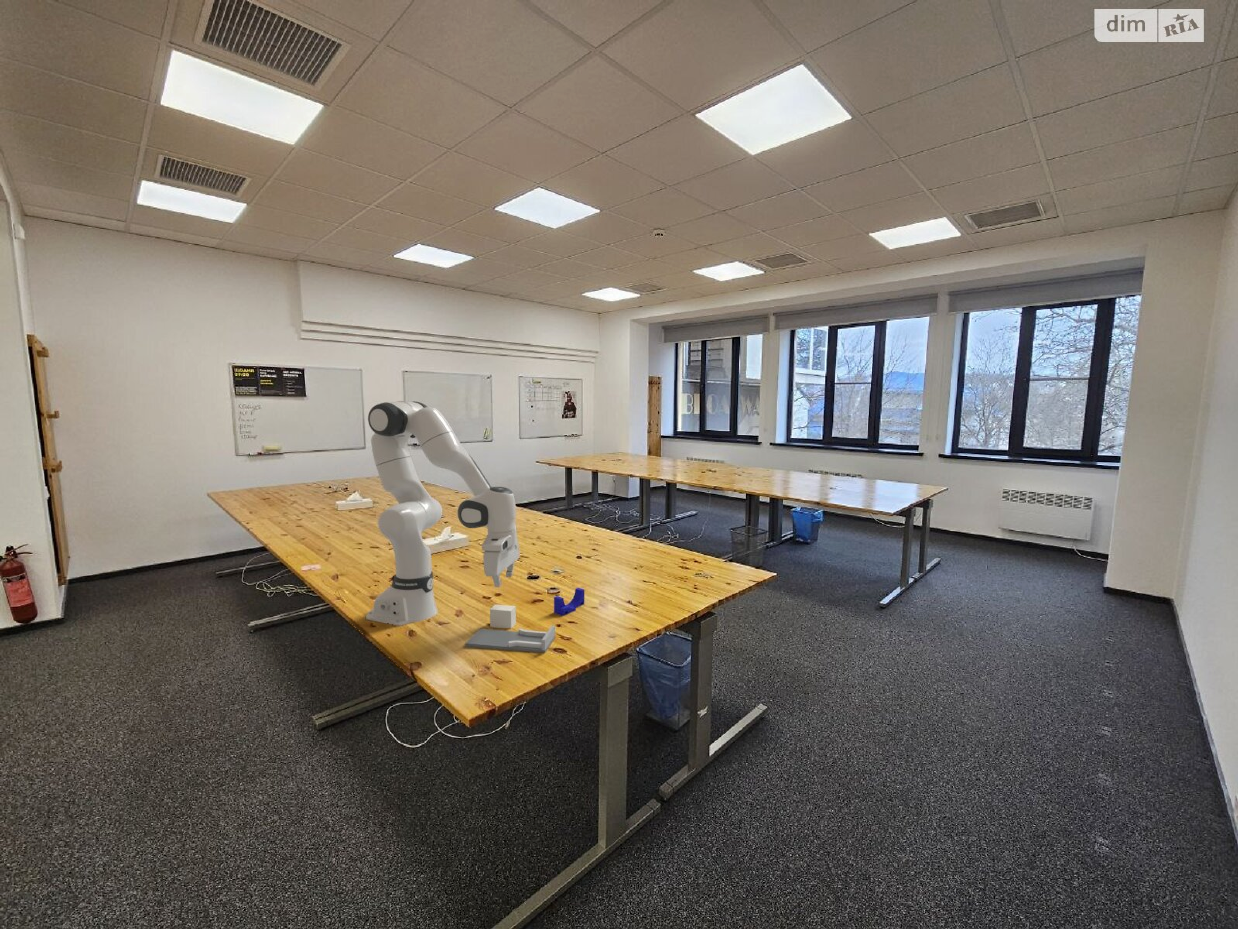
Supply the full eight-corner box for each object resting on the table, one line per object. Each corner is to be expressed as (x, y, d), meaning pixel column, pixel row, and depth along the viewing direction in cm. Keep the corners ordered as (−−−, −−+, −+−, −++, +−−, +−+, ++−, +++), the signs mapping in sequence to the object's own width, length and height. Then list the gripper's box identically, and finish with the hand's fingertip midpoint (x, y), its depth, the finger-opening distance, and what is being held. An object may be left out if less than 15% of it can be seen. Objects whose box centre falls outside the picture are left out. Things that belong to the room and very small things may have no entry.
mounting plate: (465, 647, 145) (465, 633, 145) (480, 632, 155) (480, 619, 155) (545, 654, 141) (544, 640, 141) (555, 638, 151) (555, 625, 151)
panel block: (490, 627, 159) (489, 609, 158) (495, 622, 163) (495, 604, 162) (511, 629, 158) (511, 611, 157) (515, 624, 162) (515, 606, 161)
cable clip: (563, 617, 167) (563, 600, 167) (554, 614, 170) (554, 597, 169) (587, 607, 177) (587, 590, 176) (578, 603, 179) (578, 587, 179)
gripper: (505, 530, 168) (506, 570, 169) (478, 546, 148) (480, 592, 149) (523, 531, 167) (524, 571, 168) (499, 547, 147) (500, 593, 148)
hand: (503, 581), depth 159 cm, fingers open, 8 cm apart
